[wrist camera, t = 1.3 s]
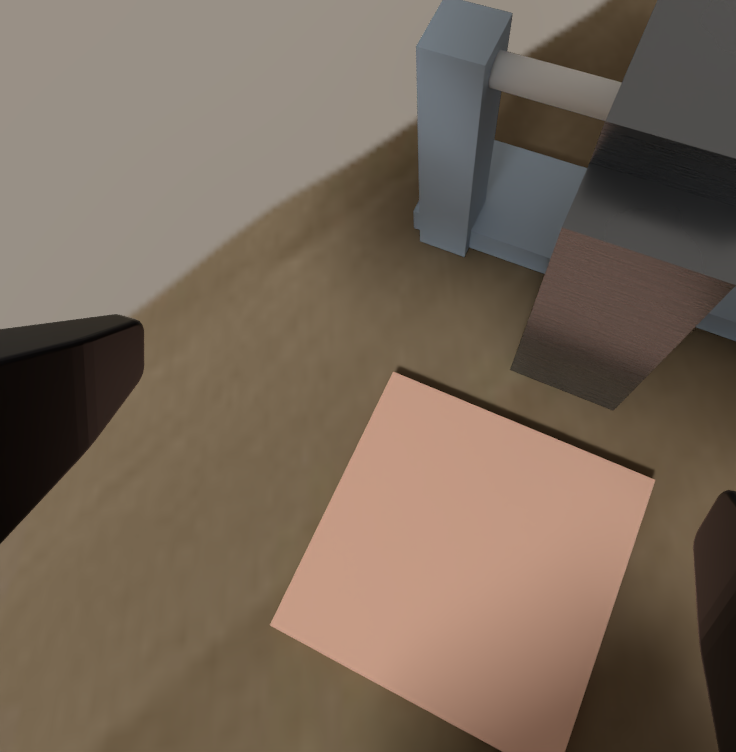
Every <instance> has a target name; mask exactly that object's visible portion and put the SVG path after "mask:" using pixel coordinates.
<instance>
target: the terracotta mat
mask: <svg viewBox="0 0 736 752" xmlns="http://www.w3.org/2000/svg"><path fill="white" fill-rule="evenodd" d="M654 483H655V480H654V479H652V478H649V477H647V476H645V475H642V474H640V473H637V472H635V471H632V470H630V469H628V468H625V467H623V466H620V465H618V464H616V463H613V462H611V461H608V460H606V459H603V458H601V457H599V456H596V455H594V454H591V453H589V452H587V451H584V450H582V449H579V448H577V447H574V446H572V445H570V444H567V443H565V442H562V441H560V440H557V439H555V438H553V437H550V436H548V435H545V434H543V433H541V432H538V431H536V430H533V429H531V428H528V427H526V426H524V425H521V424H519V423H516V422H514V421H512V420H509V419H507V418H504V417H502V416H499V415H497V414H495V413H492V412H490V411H487V410H485V409H483V408H480V407H478V406H475V405H473V404H470V403H468V402H466V401H463V400H461V399H458V398H456V397H454V396H451V395H449V394H446V393H444V392H441V391H439V390H437V389H434V388H432V387H429V386H427V385H425V384H422V383H420V382H417V381H415V380H412V379H410V378H408V377H405V376H403V375H400V374H398V373H395V372H393V373H392V375H391V377H390V379H389V382H388V384H387V386H386V388H385V390H384V392H383V394H382V396H381V398H380V400H379V402H378V404H377V406H376V408H375V410H374V412H373V414H372V416H371V418H370V421H369V423H368V425H367V427H366V429H365V431H364V433H363V435H362V437H361V439H360V441H359V443H358V445H357V447H356V449H355V451H354V453H353V455H352V457H351V460H350V462H349V464H348V466H347V468H346V470H345V472H344V474H343V476H342V478H341V480H340V482H339V484H338V486H337V488H336V490H335V492H334V494H333V497H332V499H331V501H330V503H329V505H328V507H327V509H326V511H325V513H324V515H323V517H322V519H321V521H320V523H319V525H318V527H317V529H316V531H315V533H314V536H313V538H312V540H311V542H310V544H309V546H308V548H307V550H306V552H305V554H304V556H303V558H302V560H301V562H300V564H299V566H298V568H297V570H296V572H295V575H294V577H293V579H292V581H291V583H290V585H289V587H288V589H287V591H286V593H285V595H284V597H283V599H282V601H281V603H280V605H279V607H278V609H277V612H276V614H275V616H274V618H273V620H272V622H271V624H270V626H272V627H274V628H276V629H278V630H279V631H281V632H283V633H285V634H287V635H289V636H291V637H292V638H294V639H296V640H298V641H300V642H302V643H303V644H305V645H307V646H309V647H311V648H313V649H314V650H316V651H318V652H320V653H322V654H324V655H325V656H327V657H329V658H331V659H333V660H335V661H337V662H338V663H340V664H342V665H344V666H346V667H348V668H349V669H351V670H353V671H355V672H357V673H359V674H360V675H362V676H364V677H366V678H368V679H370V680H371V681H373V682H375V683H377V684H379V685H381V686H383V687H384V688H386V689H388V690H390V691H392V692H394V693H395V694H397V695H399V696H401V697H403V698H405V699H406V700H408V701H410V702H412V703H414V704H416V705H417V706H419V707H421V708H423V709H425V710H427V711H429V712H430V713H432V714H434V715H436V716H438V717H440V718H441V719H443V720H445V721H447V722H449V723H451V724H452V725H454V726H456V727H458V728H460V729H462V730H463V731H465V732H467V733H469V734H471V735H473V736H475V737H476V738H478V739H480V740H482V741H484V742H486V743H487V744H489V745H491V746H493V747H495V748H497V749H498V750H500V751H502V752H565V750H566V747H567V744H568V741H569V738H570V735H571V732H572V729H573V726H574V723H575V720H576V717H577V714H578V711H579V708H580V705H581V702H582V699H583V696H584V693H585V690H586V687H587V684H588V681H589V678H590V675H591V672H592V669H593V666H594V663H595V660H596V657H597V654H598V651H599V648H600V645H601V642H602V639H603V636H604V633H605V630H606V627H607V624H608V621H609V618H610V615H611V612H612V609H613V606H614V603H615V600H616V597H617V594H618V591H619V588H620V585H621V582H622V579H623V576H624V573H625V570H626V567H627V564H628V561H629V558H630V555H631V552H632V549H633V546H634V543H635V540H636V537H637V534H638V531H639V528H640V525H641V522H642V519H643V516H644V513H645V510H646V507H647V504H648V501H649V498H650V495H651V492H652V489H653V486H654Z"/></svg>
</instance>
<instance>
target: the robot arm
mask: <svg viewBox="0 0 736 752" xmlns="http://www.w3.org/2000/svg"><path fill="white" fill-rule="evenodd" d="M143 370H144V328H143V325H142V324H141V323H140V321H138V320H136V319H132V318H129V317H126V316H122V315H117V314H114V315H107V316H99V317H91V318H83V319H76V320H68V321H60V322H53V323H46V324H38V325H30V326H22V327H15V328H7V329H0V544H1V543H2V542H3V541H4V539H5V538H6V537H7V536H8V535H9V534H10V533H11V532H12V531H13V530H14V529H15V528H16V527H17V525H18V524H19V523H20V522H21V521H22V520H23V519H24V518H25V517H26V516H27V515H28V514H29V513H30V512H31V510H32V509H33V508H34V507H35V506H36V505H37V504H38V503H39V502H40V501H41V500H42V499H43V498H44V496H45V495H46V494H47V493H48V492H49V491H50V490H51V489H52V488H53V487H54V486H55V485H56V484H57V483H58V481H59V480H60V479H61V478H62V477H63V476H64V475H65V474H66V473H67V472H68V471H69V470H70V469H71V467H72V466H73V465H74V464H75V463H76V462H77V461H78V460H79V459H80V458H81V457H82V455H83V454H84V453H85V452H86V451H87V450H88V449H89V447H90V446H91V445H92V444H93V442H94V441H95V440H96V439H97V437H98V436H99V435H100V433H101V432H102V431H103V429H104V428H105V427H106V425H107V424H108V423H109V421H110V420H111V419H112V417H113V416H114V415H115V413H116V412H117V411H118V409H119V408H120V406H121V405H122V404H123V402H124V401H125V400H126V398H127V397H128V396H129V394H130V393H131V392H132V390H133V389H134V388H135V386H136V385H137V384H138V382H139V381H140V379H141V377H142V374H143ZM693 552H694V569H695V585H696V602H697V619H698V633H699V643H700V650H701V656H702V662H703V667H704V673H705V678H706V684H707V689H708V695H709V700H710V705H711V711H712V716H713V722H714V727H715V733H716V738H717V744H718V749H719V752H736V491H731V490H727V491H724V492H723V493H721V494H720V495H719V496H718V498H717V499H716V501H715V503H714V504H713V506H712V508H711V509H710V511H709V513H708V514H707V516H706V518H705V519H704V521H703V522H702V524H701V526H700V527H699V529H698V531H697V533H696V536H695V539H694V545H693Z"/></svg>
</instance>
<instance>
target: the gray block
mask: <svg viewBox="0 0 736 752" xmlns="http://www.w3.org/2000/svg"><path fill="white" fill-rule="evenodd" d="M735 286H736V0H657V3H656V5H655V7H654V10H653V12H652V14H651V17H650V19H649V21H648V24H647V26H646V28H645V30H644V33H643V35H642V37H641V40H640V42H639V44H638V47H637V49H636V51H635V54H634V56H633V58H632V60H631V63H630V65H629V67H628V70H627V72H626V74H625V77H624V79H623V81H622V84H621V86H620V88H619V90H618V93H617V95H616V97H615V100H614V102H613V104H612V107H611V109H610V111H609V114H608V116H607V118H606V120H605V123H604V126H603V128H602V131H601V134H600V136H599V139H598V142H597V145H596V147H595V150H594V153H593V155H592V158H591V161H590V163H589V166H588V168H587V170H586V173H585V175H584V177H583V179H582V182H581V184H580V186H579V189H578V191H577V193H576V196H575V198H574V200H573V203H572V205H571V207H570V210H569V212H568V214H567V217H566V219H565V221H564V223H563V226H562V228H561V231H560V234H559V237H558V239H557V242H556V245H555V248H554V250H553V253H552V256H551V259H550V261H549V264H548V267H547V270H546V272H545V275H544V278H543V281H542V284H541V286H540V289H539V292H538V295H537V297H536V300H535V303H534V306H533V308H532V311H531V314H530V317H529V319H528V322H527V325H526V328H525V331H524V333H523V336H522V339H521V342H520V344H519V347H518V350H517V353H516V355H515V358H514V361H513V364H512V366H511V369H510V370H512V371H515V372H517V373H520V374H522V375H525V376H527V377H530V378H532V379H535V380H537V381H540V382H542V383H545V384H548V385H550V386H553V387H555V388H558V389H560V390H563V391H565V392H568V393H570V394H573V395H575V396H578V397H581V398H583V399H586V400H588V401H591V402H593V403H596V404H598V405H601V406H603V407H606V408H608V409H611V410H614V409H615V408H616V407H617V406H618V405H619V404H620V403H621V402H622V401H623V400H624V399H625V398H626V397H627V396H628V395H629V394H630V393H631V392H632V391H633V390H634V389H635V388H636V387H637V386H638V385H639V384H640V383H641V382H642V381H643V380H644V379H645V378H646V377H647V376H648V375H649V374H650V373H651V372H652V370H653V369H654V368H655V367H656V366H657V365H658V364H659V363H660V362H661V361H662V360H663V359H664V358H665V357H666V356H667V355H668V354H669V353H670V352H671V351H672V350H673V349H674V348H675V347H676V346H677V345H678V344H679V343H680V342H681V341H682V340H683V339H684V338H685V337H686V336H687V335H688V334H689V333H690V332H691V331H692V330H693V329H694V328H695V327H696V326H697V325H698V324H699V323H700V322H701V321H702V320H703V319H704V318H705V317H706V315H707V314H708V313H709V312H710V311H711V310H712V309H713V308H714V307H715V306H716V305H717V304H718V303H719V302H720V301H721V300H722V299H723V298H724V297H725V296H726V295H727V294H728V293H729V292H730V291H731V290H732V289H733V288H734V287H735Z"/></svg>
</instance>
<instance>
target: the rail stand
mask: <svg viewBox="0 0 736 752" xmlns="http://www.w3.org/2000/svg"><path fill="white" fill-rule="evenodd" d="M511 21H512V13H510V12H506V11H502V10H499V9H494V8H491V7H486V6H483V5H479V4H475V3H471V2H467V1H463V0H442V2H441V4H440V6H439V7H438V9H437V11H436V13H435V15H434V16H433V18H432V20H431V21H430V23H429V25H428V27H427V28H426V30H425V32H424V34H423V35H422V37H421V39H420V41H419V43H418V44H417V46H416V63H417V64H416V65H417V110H418V111H417V114H418V163H419V202H418V203H417V205H416V207H415V209H414V211H413V212H414V228H416V229H419V230H420V241H421V242H424V243H427V244H429V245H432V246H435V247H438V248H441V249H443V250H446V251H449V252H452V253H455V254H457V255H460V256H463V257H465V255H466V253H467V251H468V249H469V247H470V248H472V249H475V250H478V251H481V252H484V253H487V254H489V255H492V256H495V257H498V258H501V259H504V260H506V261H509V262H512V263H515V264H518V265H521V266H523V267H526V268H529V269H532V270H535V271H538V272H541V273H543V274H545V272H546V270H547V267H548V264H549V261H550V259H551V256H552V253H553V250H554V248H555V245H556V242H557V239H558V237H559V234H560V231H561V228H562V226H563V223H564V221H565V219H566V217H567V214H568V212H569V210H570V207H571V205H572V203H573V200H574V198H575V196H576V193H577V191H578V189H579V186H580V184H581V182H582V179H583V177H584V175H585V173H586V170H587V168H585V167H581V166H578V165H575V164H572V163H568V162H565V161H562V160H559V159H555V158H552V157H549V156H546V155H542V154H539V153H536V152H533V151H529V150H526V149H523V148H520V147H516V146H513V145H510V144H506V143H503V142H500V141H497V140H494V138H495V131H496V124H497V117H498V110H499V103H500V97H501V91H502V92H506V93H509V94H513V95H516V96H520V97H523V98H527V99H530V100H534V101H537V102H541V103H544V104H547V105H551V106H554V107H558V108H561V109H565V110H568V111H572V112H575V113H579V114H582V115H586V116H589V117H593V118H596V119H600V120H603V121H605V120H606V118H607V116H608V114H609V111H610V109H611V107H612V104H613V102H614V100H615V97H616V95H617V93H618V90H619V88H620V86H621V84H622V82H618V81H615V80H611V79H607V78H603V77H600V76H596V75H592V74H589V73H585V72H581V71H578V70H574V69H570V68H567V67H563V66H559V65H556V64H552V63H548V62H545V61H541V60H537V59H533V58H530V57H526V56H522V55H519V54H515V53H511V52H507V48H508V41H509V35H510V27H511ZM696 327H697V328H699V329H702V330H705V331H708V332H711V333H714V334H716V335H719V336H722V337H725V338H728V339H731V340H733V341H736V286H735V287H734V288H733V289H732V290H731V291H730V292H729V293H728V294H727V295H726V296H725V297H724V298H723V299H722V300H721V301H720V302H719V303H718V304H717V305H716V306H715V307H714V308H713V309H712V310H711V311H710V312H709V313H708V314H707V315H706V317H705V318H704V319H703V320H702V321H701V322H700V323H699V324H698V325H697V326H696Z"/></svg>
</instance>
